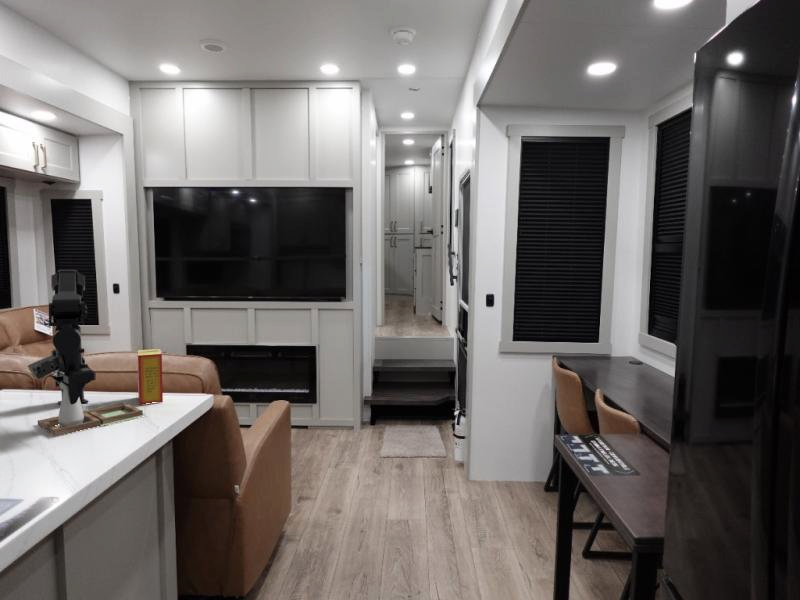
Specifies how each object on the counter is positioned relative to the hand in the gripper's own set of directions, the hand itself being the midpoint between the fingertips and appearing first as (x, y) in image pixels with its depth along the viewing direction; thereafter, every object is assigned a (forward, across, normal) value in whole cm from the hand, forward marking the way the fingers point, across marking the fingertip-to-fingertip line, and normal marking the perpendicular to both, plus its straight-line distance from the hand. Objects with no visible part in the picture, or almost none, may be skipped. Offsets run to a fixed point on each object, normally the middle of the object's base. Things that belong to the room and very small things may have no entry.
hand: (70, 403), depth 128 cm
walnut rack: (+7, -1, +5) cm, 9 cm away
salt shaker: (+7, 0, 0) cm, 7 cm away
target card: (+6, 0, +11) cm, 13 cm away
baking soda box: (+7, -9, +25) cm, 27 cm away
